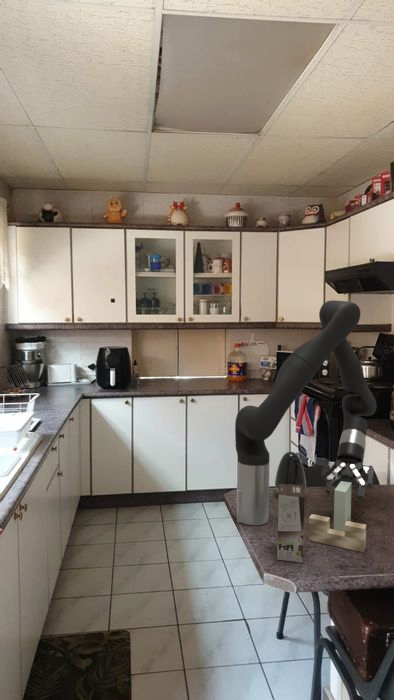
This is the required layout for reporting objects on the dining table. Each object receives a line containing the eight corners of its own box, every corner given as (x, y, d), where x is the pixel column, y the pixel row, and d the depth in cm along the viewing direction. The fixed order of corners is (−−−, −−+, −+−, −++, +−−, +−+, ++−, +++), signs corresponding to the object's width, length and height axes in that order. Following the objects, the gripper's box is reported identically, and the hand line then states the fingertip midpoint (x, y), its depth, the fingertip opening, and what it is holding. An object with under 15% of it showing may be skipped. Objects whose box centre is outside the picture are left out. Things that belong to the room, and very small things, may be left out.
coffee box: (303, 563, 111) (305, 496, 110) (276, 560, 112) (277, 494, 112) (302, 546, 120) (304, 484, 119) (277, 543, 121) (278, 482, 121)
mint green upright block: (344, 535, 127) (345, 492, 126) (333, 533, 128) (334, 490, 128) (350, 523, 135) (351, 482, 134) (339, 521, 136) (340, 480, 135)
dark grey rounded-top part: (283, 503, 149) (284, 457, 149) (269, 492, 159) (270, 449, 159) (311, 500, 152) (312, 455, 152) (296, 490, 162) (297, 447, 162)
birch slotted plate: (308, 540, 123) (309, 517, 123) (311, 535, 126) (311, 513, 126) (363, 552, 117) (364, 528, 117) (365, 547, 120) (366, 524, 119)
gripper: (326, 438, 143) (316, 485, 133) (375, 443, 136) (369, 494, 126) (329, 451, 148) (320, 498, 138) (377, 457, 141) (371, 507, 131)
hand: (343, 496), depth 132 cm, fingers open, 8 cm apart
